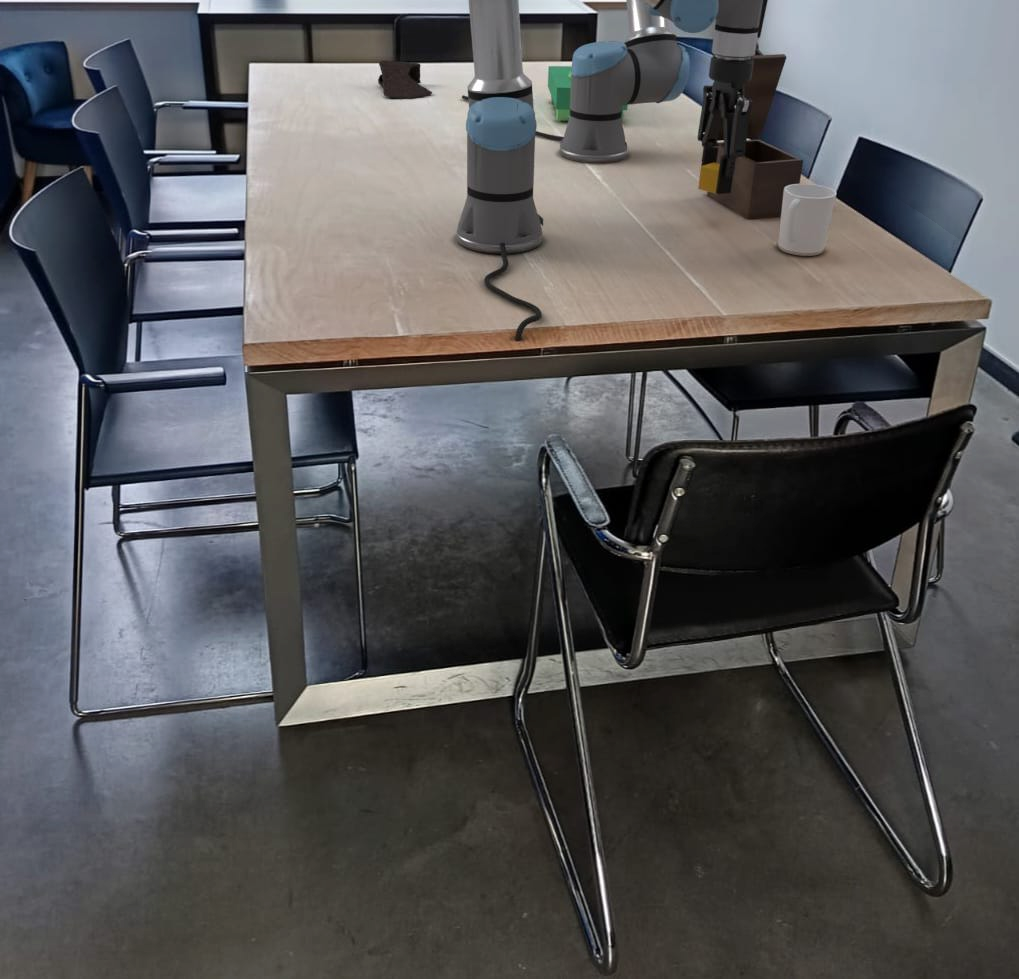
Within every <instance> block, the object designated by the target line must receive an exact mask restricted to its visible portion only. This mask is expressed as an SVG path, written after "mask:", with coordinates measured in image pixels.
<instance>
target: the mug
mask: <svg viewBox="0 0 1019 979" xmlns="http://www.w3.org/2000/svg"><path fill="white" fill-rule="evenodd" d="M836 198H837V191H836V190H835V189H833V188H831V187H829V186H826V185H822V184H821V185H820V184H815V183H800V184H792V185H788V186H786V187H784V192H783V202H782V212H781V216H780V222H779V232H778V242H777V246H778V249H779V250H780V251H782V252H784V253H786V254H789V255H795V256H802V257H811V256H818V255H820V254H822V253H823V252H824V250H825V248H826V242H827V238H828V233H829V229H830V225H831V220H832V215H833V211H834V207H835V203H836Z"/></svg>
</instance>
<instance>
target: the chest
mask: <svg viewBox="0 0 1019 979" xmlns="http://www.w3.org/2000/svg"><path fill="white" fill-rule="evenodd" d="M717 142H718V143H719V144H720V145H719V146H713V148H714V147H717V148H718V154H717V161H716V163H719V164H720V158H721V157H720V156H721V155H724V141H720V142H719V141H717ZM803 164H804V159H802V158H800V157H798V156H796V155H794V154H791V153H790V152H787V151H785V150H783V149H780V148H779V147H777V146H774V145H773V144H770V143H767V142H766V141H763V140H761V139H760V138H756V139H746V148H745V155H744V157H738V158H737V159H736V163H735V168H734V169H735V170H734V175H733V180H732V187H731V193H725V194H715V193H711V192H707V191H706V196H708V197H709V198H711V199H712V200H714V201H716V202H717V203H719V204H721V205H723V206H725V207H726V208H728V209H730V210H731V211H733V212H735V213H736V214H738V215H740V216H742V218H743V217H744V218H745V219H747V220H753V219H763V218H773V217H781V212H782V202H783V192H784V187H786V186H788V185H792V184H801V177H802V172H803V166H804V165H803Z"/></svg>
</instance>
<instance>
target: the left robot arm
mask: <svg viewBox="0 0 1019 979" xmlns="http://www.w3.org/2000/svg"><path fill="white" fill-rule="evenodd" d="M641 1H642V2H644V3H645V4H647V5H648V11H649V13H650V14H651V15H652V16H660V17H663V18H667V19H668V21H670V22H671V23H673V25H674V26H675V27H676V28H677V29H678V30H681V31H683V32H685V33H688V34H697V33H701V32H704V31H706V30H707V29H708V28H709V27H710V26H711V25H713V23H714V22H715V23H714V30H713V37H712V38H713V39H712V45H711V53H712V54H713V55H712V56H711V58H710V63H709V70H708V77H709V79H710V80H712V81H713V83H712V84H711V85H708V84H707V85H703V88H702V98H703V99H702V105H701V113H700V117H699V124H698V131H697V136H696V137H697V141H698V142H701V147H702V154H701V165H700V167H701V166H704V165H707V164H710V163H713V162H715V163H716V161H717V154H718V148H717V147H714V148H713V146H719V145H720V144H719V143H718V142H719V141H717V140H718V137H719V133H720V130H721V127H722V123H723V120H724V140H723V142H724V155H721V156H720V157H721V158H720V166H719V173H718V180H717V187H716V193H717V194H725V193H731V187H732V180H733V175H734V170H735V169H734V168H735V163H736V159H737V158H738V157H744V155H745V148H746V140H748V139H747V131H748V123H749V115H750V111H751V108H752V105H753V101H752V100H746V98H745V97H744V85H745V83H746V82H749V81H750V80H751V78H752V72H753V65H754V61H753V59H752V58H751V57H753V56H755V55H756V54H755V49H756V42H757V41H758V39H759V38H758V37H757V35H758V29H759V23H760V16H761V10H762V4H763V0H641ZM519 4H520V2H519V0H468V9H469V10H468V11H469V21H470V22H469V23H470V33H471V35H470V36H471V45H472V46H471V48H472V58H473V59H472V60H473V69H474V77H473V78H472V80H471V81H470V82H469V84H468V85H467V97H468V100H469V101H468V100H467V101H468V111H467V117H466V120H465V121H466V122H465V130H466V192H467V193H466V198H465V202H464V205H463V209H462V211H461V214H460V218H459V220H458V224H457V228H456V241H457V243H458V244H459V245H461V246H462V247H464V248H466V249H468V250H470V251H475V252H479V253H486V254H497V255H499V254H500V256H501V261H502V265H501V267H500V268H498V269H496V270H494V271H492V272H490V273H488V274H487V275H485V276H484V280H483V283H484V285H485V287H486V288H487V289H488V290H489V291H491V292H493V293H495V294H496V295H498V296H500V297H502V298H503V299H505V300H507V301H509V302H510V303H514V304H516V305H518V306H521V307H523V308H527V309H528V310H531V311H532V312H533V313H534V315H531V316H528V317H527V318H525V319H524V320H522V321H521V322H520V323H519V325H518V326H517V329H516V331H515V336H514V341H515V342H521V340H522V336H523V332H524V330H525V328H526V327H527V326H528V325H530V324H532V323H535V322H538V321H539V320H540V319H542V316H543V313H542V311H541V309H540V308H539V306H537V305H535V304H533V303H532V302H529V301H526V300H523V299H520V298H519V297H515V296H514V295H511V294H509V293H507V292H506V291H504V290H502V289H500V288H498V287H496V286H495V285H493V284H492V283H491V280H492V279H494V278H495V277H497V276H500V275H502V274H504V273H505V272H506V271H507V270H508V268H509V258H508V256H507V255H508V254H517V253H524V252H527V251H530V250H533V249H536V248H538V247H539V246H540V245H541V244H542V243H543V229H542V227H543V226H544V218H543V217H542V216H541V215H540V214H539V212H538V210H537V206H536V204H535V199H534V184H535V181H534V180H535V157H536V156H535V151H536V150H535V149H536V135H535V133H536V131H537V120H536V112H535V109H534V91H533V81H532V80H531V79H530V77H528V76H527V75H526V74H525V73H524V69H523V68H524V66H523V55H522V50H523V49H522V39H521V38H522V34H521V18H520V5H519ZM757 43H758V42H757ZM728 113H734V114H728ZM699 172H701V170H699ZM517 580H518V575H516V574H515V573H514V572H511V581H517Z"/></svg>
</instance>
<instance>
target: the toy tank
mask: <svg viewBox="0 0 1019 979" xmlns="http://www.w3.org/2000/svg"><path fill="white" fill-rule="evenodd" d="M571 67H572V65H569V66H568V65H567V66H565V65H548V72H547V88H548V91H549V94H550V100H551V103H553V105H554V108H555V117H556V118H555V119H556V121H558V122H561V121H562V122H563V121H564V122H565V121H566V122H568V121H569V116H570V93H571ZM628 106H629V105H623V107H622V121H624V113H625V111H628Z"/></svg>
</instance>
